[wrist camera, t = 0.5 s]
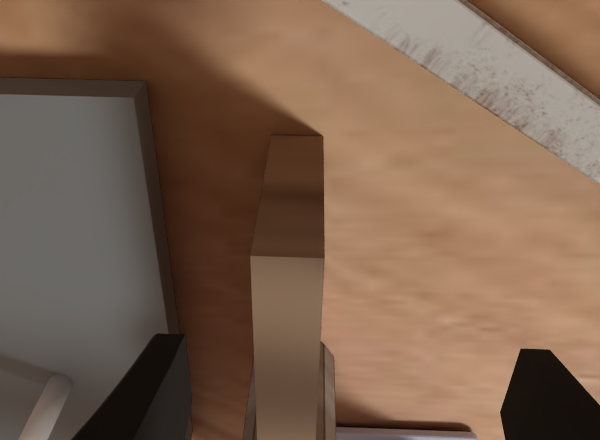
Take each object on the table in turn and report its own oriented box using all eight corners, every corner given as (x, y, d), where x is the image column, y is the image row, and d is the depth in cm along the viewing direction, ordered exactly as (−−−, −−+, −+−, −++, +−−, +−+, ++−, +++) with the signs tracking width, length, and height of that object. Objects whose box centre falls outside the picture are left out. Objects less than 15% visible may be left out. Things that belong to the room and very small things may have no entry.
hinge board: (192, 430, 29) (173, 519, 25) (-6, 423, 29) (-55, 510, 25) (146, 81, 19) (102, 139, 15) (-155, 73, 19) (-273, 128, 15)
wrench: (687, 216, 25) (-63, -302, 13) (725, 185, 24) (-42, -396, 13) (842, 366, 18) (-353, -389, 7) (902, 331, 17) (-354, -597, 6)
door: (244, 134, 20) (212, 255, 14) (349, 137, 20) (361, 259, 14) (254, 389, 27) (236, 541, 21) (331, 392, 27) (334, 544, 21)
